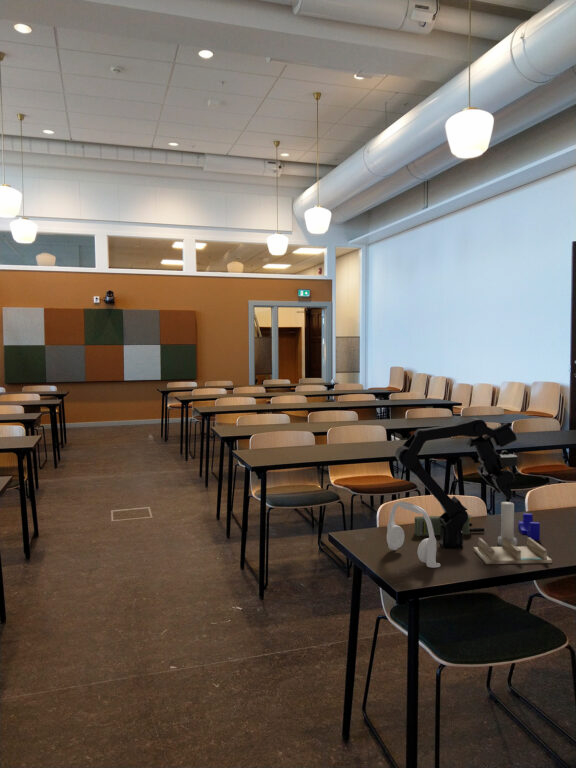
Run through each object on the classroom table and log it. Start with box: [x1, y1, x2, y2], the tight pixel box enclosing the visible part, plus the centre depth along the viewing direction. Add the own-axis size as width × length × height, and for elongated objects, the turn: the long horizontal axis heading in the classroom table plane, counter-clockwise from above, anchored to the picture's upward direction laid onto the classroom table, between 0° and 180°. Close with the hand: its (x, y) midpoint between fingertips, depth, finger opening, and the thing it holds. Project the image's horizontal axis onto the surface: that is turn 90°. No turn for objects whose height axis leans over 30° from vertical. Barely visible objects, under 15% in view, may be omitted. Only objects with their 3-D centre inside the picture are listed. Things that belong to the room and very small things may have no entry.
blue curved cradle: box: [517, 512, 541, 541], centre depth 198 cm, size 12×4×6 cm, turn 169°
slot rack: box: [473, 536, 553, 565], centre depth 178 cm, size 20×12×4 cm, turn 90°
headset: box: [386, 501, 441, 569], centre depth 176 cm, size 20×7×18 cm, turn 28°
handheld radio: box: [414, 514, 485, 537], centre depth 200 cm, size 7×3×25 cm
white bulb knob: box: [497, 501, 518, 547], centre depth 188 cm, size 6×6×14 cm
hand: (504, 495), depth 188 cm, fingers open, 9 cm apart
